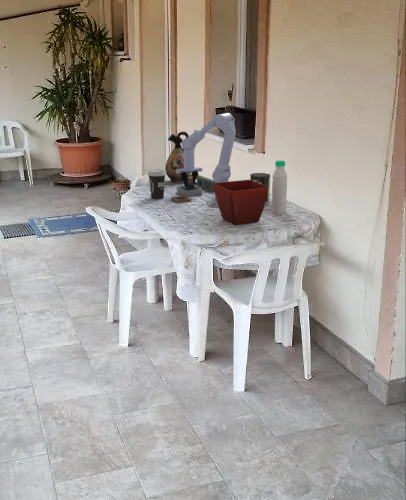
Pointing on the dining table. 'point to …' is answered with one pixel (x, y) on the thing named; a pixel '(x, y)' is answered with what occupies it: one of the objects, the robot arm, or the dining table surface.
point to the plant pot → (241, 201)
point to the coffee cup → (157, 183)
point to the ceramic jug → (176, 159)
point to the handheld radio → (205, 183)
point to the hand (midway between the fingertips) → (189, 185)
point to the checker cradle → (181, 199)
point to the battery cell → (189, 182)
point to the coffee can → (262, 181)
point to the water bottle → (279, 188)
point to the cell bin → (189, 191)
